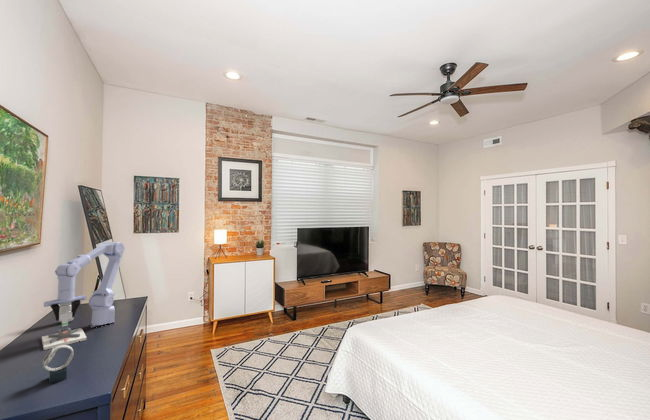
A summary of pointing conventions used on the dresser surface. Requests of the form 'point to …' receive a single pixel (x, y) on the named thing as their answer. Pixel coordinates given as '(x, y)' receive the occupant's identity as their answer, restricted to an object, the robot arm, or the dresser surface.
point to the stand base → (63, 338)
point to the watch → (59, 371)
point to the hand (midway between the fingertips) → (65, 318)
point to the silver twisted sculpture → (66, 309)
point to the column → (65, 317)
